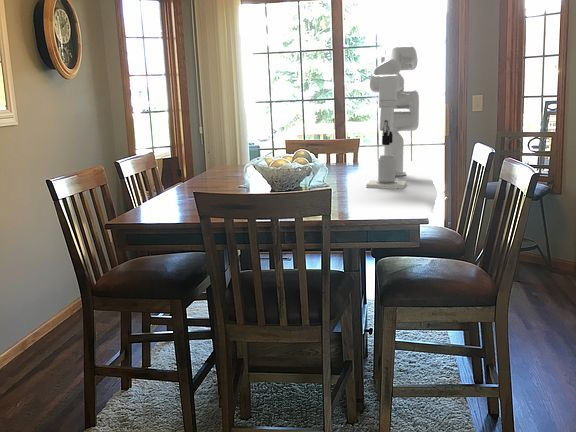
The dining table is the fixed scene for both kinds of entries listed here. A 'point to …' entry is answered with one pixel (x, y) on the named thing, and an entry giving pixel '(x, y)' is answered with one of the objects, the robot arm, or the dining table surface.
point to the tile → (386, 184)
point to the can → (386, 169)
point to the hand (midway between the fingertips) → (387, 143)
